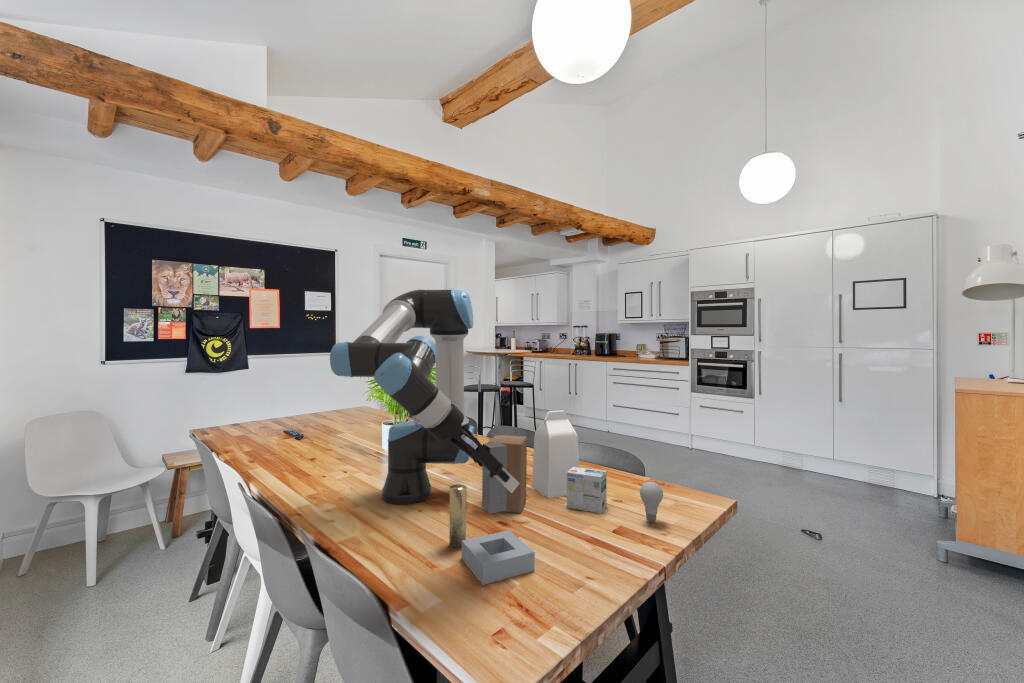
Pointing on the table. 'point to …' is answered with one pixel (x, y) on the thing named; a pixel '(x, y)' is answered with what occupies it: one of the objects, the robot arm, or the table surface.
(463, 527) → the cylinder
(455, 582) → the table surface
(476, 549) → the jig
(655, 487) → the lightbulb
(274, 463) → the table surface
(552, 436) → the milk
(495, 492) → the square bit
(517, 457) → the wooden block
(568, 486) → the light bulb box
